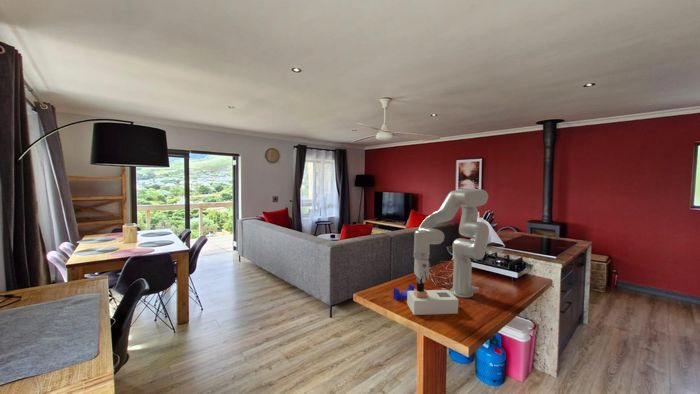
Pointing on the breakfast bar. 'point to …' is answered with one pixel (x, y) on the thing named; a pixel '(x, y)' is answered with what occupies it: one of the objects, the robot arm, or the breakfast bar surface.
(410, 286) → the blue curved piece
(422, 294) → the dusty pink cube
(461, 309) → the breakfast bar surface
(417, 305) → the block
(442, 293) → the charcoal plunger
